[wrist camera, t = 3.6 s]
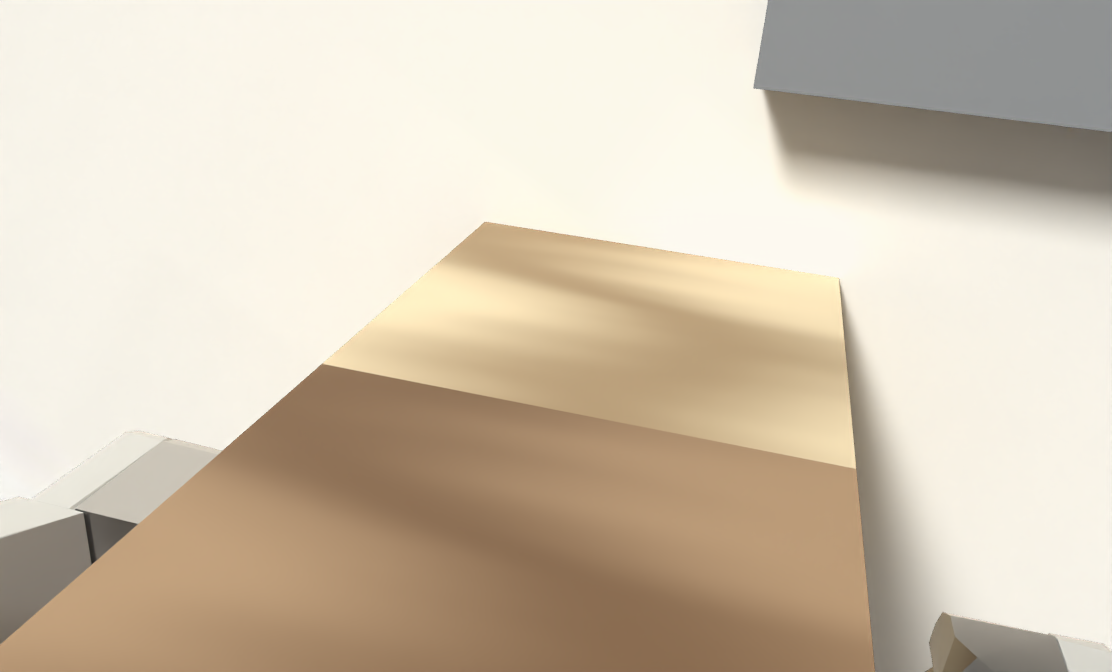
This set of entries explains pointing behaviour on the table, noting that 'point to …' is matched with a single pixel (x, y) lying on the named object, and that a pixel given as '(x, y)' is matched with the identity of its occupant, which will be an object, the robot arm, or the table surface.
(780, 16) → the slate plate
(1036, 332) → the table surface
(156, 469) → the robot arm
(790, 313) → the block stack
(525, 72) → the table surface
